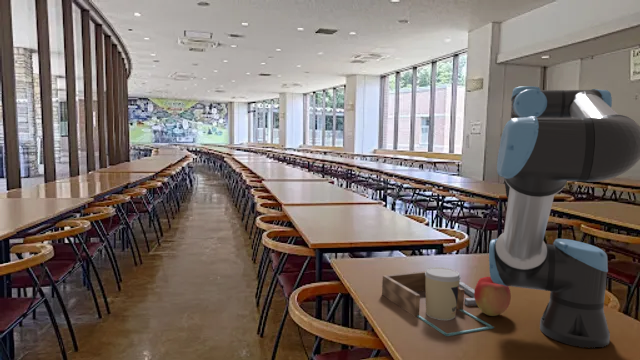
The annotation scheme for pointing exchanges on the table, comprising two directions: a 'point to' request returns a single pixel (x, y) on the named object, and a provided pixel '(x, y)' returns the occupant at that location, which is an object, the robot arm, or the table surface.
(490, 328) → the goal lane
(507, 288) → the apple
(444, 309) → the coffee cup
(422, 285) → the cubby
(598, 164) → the robot arm
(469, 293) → the crook tool
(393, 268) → the table surface
